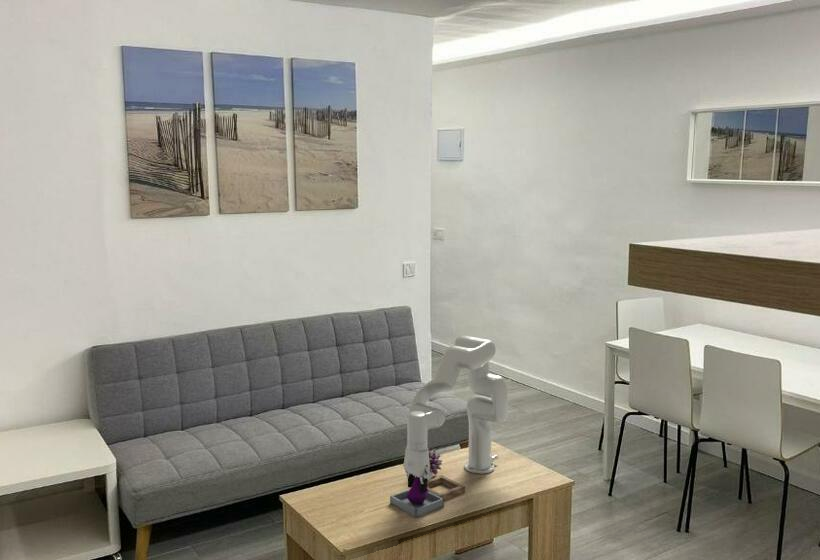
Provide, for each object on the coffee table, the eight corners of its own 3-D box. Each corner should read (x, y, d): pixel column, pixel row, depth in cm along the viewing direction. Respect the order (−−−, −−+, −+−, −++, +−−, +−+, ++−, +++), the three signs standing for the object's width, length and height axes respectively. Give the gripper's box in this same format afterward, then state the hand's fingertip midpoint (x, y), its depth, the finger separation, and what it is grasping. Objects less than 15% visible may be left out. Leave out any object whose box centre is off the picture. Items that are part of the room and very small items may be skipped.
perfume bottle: (429, 498, 283) (426, 452, 282) (426, 505, 276) (422, 458, 274) (410, 497, 285) (407, 452, 283) (406, 505, 278) (403, 458, 276)
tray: (417, 493, 291) (417, 485, 290) (443, 506, 280) (444, 499, 279) (390, 503, 282) (390, 496, 281) (415, 517, 271) (415, 509, 270)
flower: (448, 475, 308) (448, 448, 306) (429, 484, 299) (429, 456, 297) (427, 467, 315) (427, 441, 313) (408, 476, 306) (408, 449, 305)
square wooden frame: (441, 481, 302) (441, 475, 302) (465, 492, 292) (465, 486, 292) (416, 490, 293) (416, 484, 293) (439, 502, 283) (439, 496, 283)
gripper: (395, 440, 281) (395, 485, 284) (425, 453, 268) (425, 500, 271) (410, 435, 286) (410, 479, 289) (440, 448, 273) (440, 494, 276)
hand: (417, 489), depth 280 cm, fingers closed on perfume bottle, 6 cm apart
